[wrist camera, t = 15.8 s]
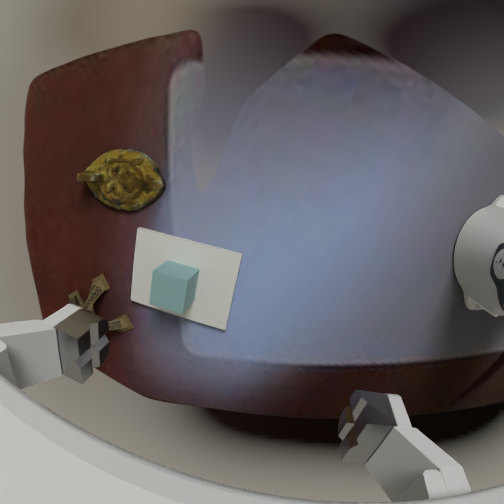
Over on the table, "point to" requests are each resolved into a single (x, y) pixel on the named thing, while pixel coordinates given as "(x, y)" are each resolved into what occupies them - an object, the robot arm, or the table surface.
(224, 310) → the board
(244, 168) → the table surface
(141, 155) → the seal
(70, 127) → the table surface
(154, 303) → the cube
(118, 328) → the eiffel tower
